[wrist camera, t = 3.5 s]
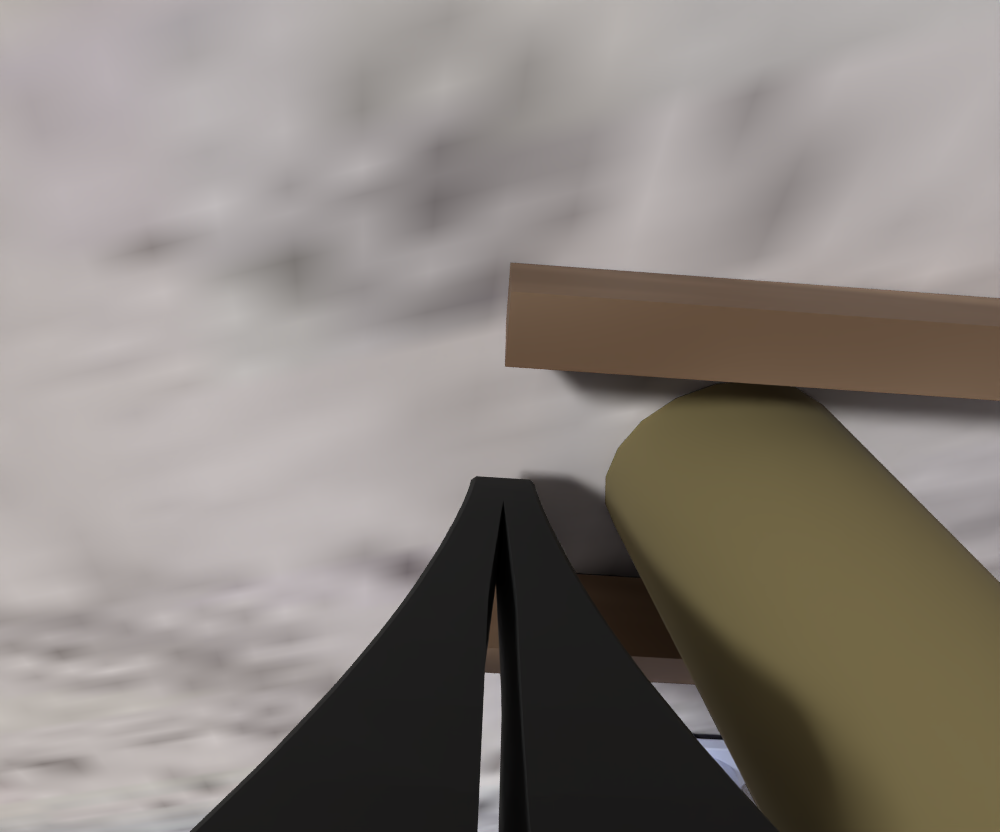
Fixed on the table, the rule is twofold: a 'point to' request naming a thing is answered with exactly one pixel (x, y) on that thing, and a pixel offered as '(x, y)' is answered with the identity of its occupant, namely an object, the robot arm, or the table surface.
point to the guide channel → (737, 366)
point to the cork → (816, 613)
